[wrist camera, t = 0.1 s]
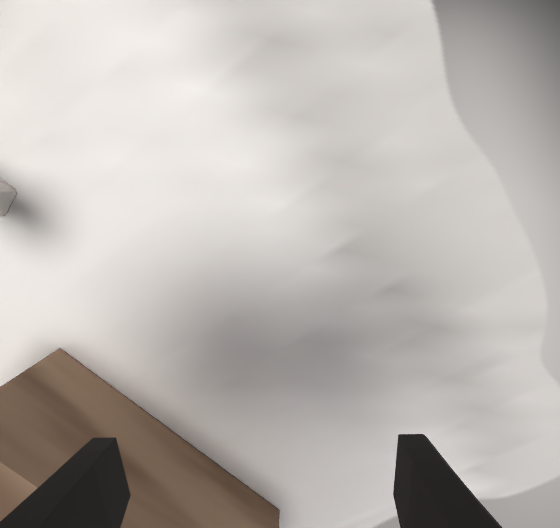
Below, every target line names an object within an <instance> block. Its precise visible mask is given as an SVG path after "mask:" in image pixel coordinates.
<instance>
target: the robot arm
mask: <svg viewBox="0 0 560 528" xmlns="http://www.w3.org/2000/svg"><path fill="white" fill-rule="evenodd" d="M393 495H394V500H395V504H396V509H397V514H398V518H399V523H400V527H401V528H502V527H501V526H500V525H499V523H498V522H497V521H496V520H495V519H494V518H493V517H492V515H491V514H490V513H489V512H488V511H487V510H486V509H485V507H484V506H483V505H482V504H481V503H480V502H479V501H478V500H477V498H476V497H475V496H474V495H473V494H472V492H471V491H470V490H469V489H468V488H467V487H466V485H465V484H464V483H463V482H462V480H461V479H460V478H459V477H458V476H457V474H456V473H455V472H454V471H453V470H452V468H451V467H450V466H449V465H448V463H447V462H446V461H445V460H444V458H443V457H442V456H441V455H440V453H439V452H438V451H437V450H436V448H435V447H434V446H433V445H432V443H431V442H430V441H429V439H428V438H427V437H426V436H425V435H424V434H399V435H398V447H397V458H396V469H395V481H394V492H393ZM130 496H131V494H130V490H129V486H128V482H127V478H126V475H125V471H124V467H123V463H122V459H121V455H120V451H119V447H118V443H117V439H116V437H112V438H92V439H91V440H90V441H89V442H88V443H87V444H85V445H84V446H83V447H82V448H81V449H80V450H79V451H78V452H77V453H75V454H74V455H73V456H72V457H71V458H70V459H69V460H68V461H67V462H66V463H64V464H63V465H62V466H61V467H60V468H59V469H58V470H57V471H56V472H55V473H54V474H53V475H51V476H50V477H49V478H48V479H47V480H46V481H45V482H44V483H43V484H42V485H40V486H39V487H38V488H37V489H36V490H35V491H34V492H33V493H32V494H30V495H29V496H28V497H27V498H26V499H25V500H24V501H23V502H22V503H20V504H19V505H18V506H17V507H16V508H15V509H14V510H13V511H12V512H10V513H9V514H8V515H7V516H6V517H5V518H4V519H3V520H1V521H0V528H120V527H121V524H122V521H123V518H124V515H125V512H126V509H127V505H128V502H129V499H130Z"/></svg>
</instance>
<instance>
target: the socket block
mask: <svg viewBox="0 0 560 528" xmlns="http://www.w3.org/2000/svg"><path fill="white" fill-rule="evenodd" d="M112 437H116V439H117V443H118V447H119V451H120V455H121V459H122V463H123V467H124V471H125V475H126V478H127V482H128V486H129V490H130V494H131V496H130V499H129V502H128V505H127V509H126V512H125V515H124V518H123V521H122V524H121V527H120V528H279V510H278V509H277V508H276V507H274V506H273V505H272V504H270V503H269V502H268V501H266V500H265V499H264V498H262V497H261V496H259V495H258V494H257V493H255V492H254V491H253V490H251V489H250V488H249V487H247V486H246V485H245V484H243V483H242V482H240V481H239V480H238V479H236V478H235V477H234V476H232V475H231V474H230V473H228V472H227V471H226V470H224V469H223V468H221V467H220V466H219V465H217V464H216V463H215V462H213V461H212V460H211V459H209V458H208V457H207V456H205V455H204V454H202V453H201V452H200V451H198V450H197V449H196V448H194V447H193V446H192V445H190V444H189V443H188V442H186V441H185V440H183V439H182V438H181V437H179V436H178V435H177V434H175V433H174V432H173V431H171V430H170V429H169V428H167V427H166V426H164V425H163V424H162V423H160V422H159V421H158V420H156V419H155V418H154V417H152V416H151V415H150V414H148V413H147V412H145V411H144V410H143V409H141V408H140V407H139V406H137V405H136V404H135V403H133V402H132V401H131V400H129V399H128V398H126V397H125V396H124V395H122V394H121V393H120V392H118V391H117V390H116V389H114V388H113V387H112V386H110V385H109V384H107V383H106V382H105V381H103V380H102V379H101V378H99V377H98V376H97V375H95V374H94V373H92V372H91V371H90V370H88V369H87V368H86V367H84V366H83V365H82V364H80V363H79V362H78V361H76V360H75V359H73V358H72V357H71V356H69V355H68V354H67V353H65V352H64V351H63V350H61V349H58V350H57V351H55V352H53V353H52V354H50V355H49V356H47V357H46V358H44V359H43V360H41V361H40V362H38V363H36V364H35V365H33V366H32V367H30V368H29V369H27V370H26V371H24V372H23V373H21V374H20V375H18V376H16V377H15V378H13V379H12V380H10V381H9V382H7V383H6V384H4V385H3V386H1V387H0V521H1V520H3V519H4V518H5V517H6V516H7V515H8V514H9V513H10V512H12V511H13V510H14V509H15V508H16V507H17V506H18V505H19V504H20V503H22V502H23V501H24V500H25V499H26V498H27V497H28V496H29V495H30V494H32V493H33V492H34V491H35V490H36V489H37V488H38V487H39V486H40V485H42V484H43V483H44V482H45V481H46V480H47V479H48V478H49V477H50V476H51V475H53V474H54V473H55V472H56V471H57V470H58V469H59V468H60V467H61V466H62V465H63V464H64V463H66V462H67V461H68V460H69V459H70V458H71V457H72V456H73V455H74V454H75V453H77V452H78V451H79V450H80V449H81V448H82V447H83V446H84V445H85V444H87V443H88V442H89V441H90V440H91V439H92V438H112Z"/></svg>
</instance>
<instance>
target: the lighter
mask: <svg viewBox="0 0 560 528" xmlns="http://www.w3.org/2000/svg"><path fill="white" fill-rule="evenodd" d="M16 194H17V193H16V189H15V188H13V187H12V186H10V185H9V184H7V183H6V182H4V181H3V180H1V179H0V216H5V215H6V213H7V211H8V209H9V207H10V205H11V203H12V202H13V200H14V198H15V196H16Z"/></svg>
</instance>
